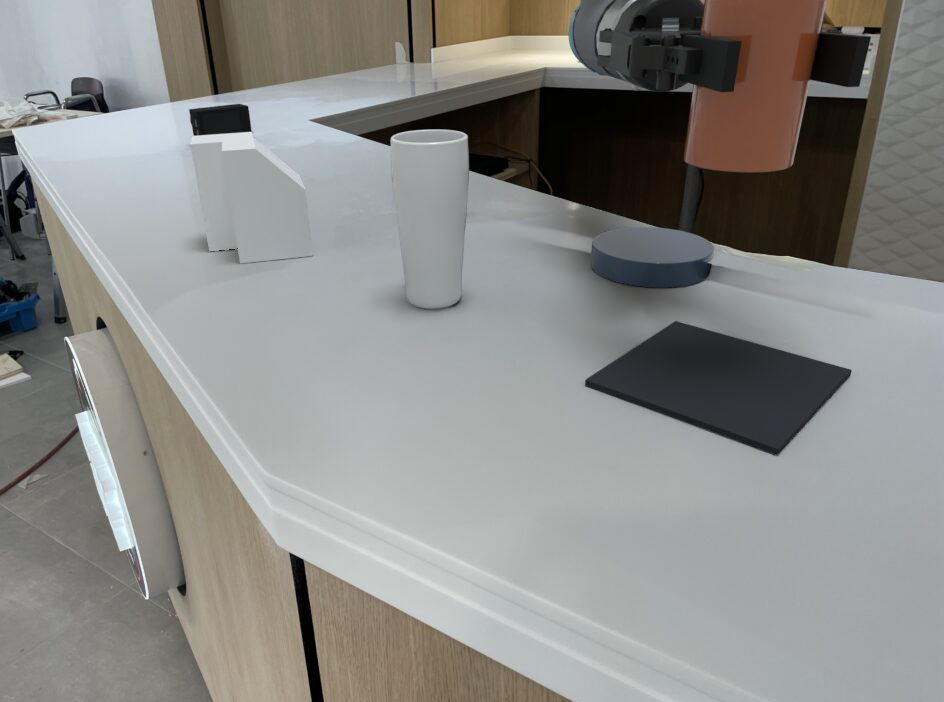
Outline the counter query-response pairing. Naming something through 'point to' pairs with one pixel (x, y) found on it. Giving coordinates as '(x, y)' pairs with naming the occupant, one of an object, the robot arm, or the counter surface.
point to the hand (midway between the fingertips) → (795, 64)
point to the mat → (723, 384)
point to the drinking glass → (431, 212)
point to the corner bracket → (250, 199)
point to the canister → (755, 85)
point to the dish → (652, 257)
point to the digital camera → (220, 119)
